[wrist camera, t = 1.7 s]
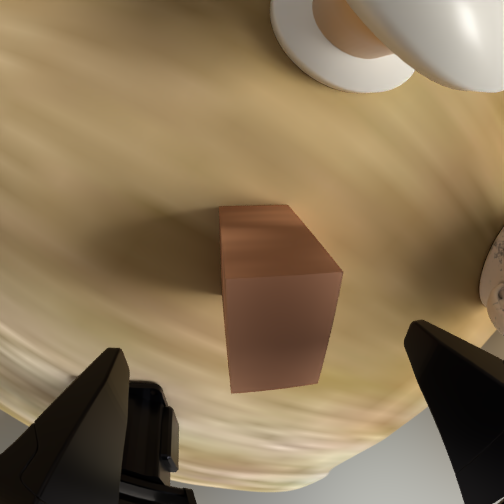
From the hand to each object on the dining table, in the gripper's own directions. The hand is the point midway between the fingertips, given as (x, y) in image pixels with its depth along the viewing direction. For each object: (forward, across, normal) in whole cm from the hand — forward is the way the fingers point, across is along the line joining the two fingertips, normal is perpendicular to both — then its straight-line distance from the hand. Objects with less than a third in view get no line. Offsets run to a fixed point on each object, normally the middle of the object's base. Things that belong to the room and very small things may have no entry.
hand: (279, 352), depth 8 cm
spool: (+6, -4, -11) cm, 13 cm away
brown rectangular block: (+6, 0, 0) cm, 6 cm away
